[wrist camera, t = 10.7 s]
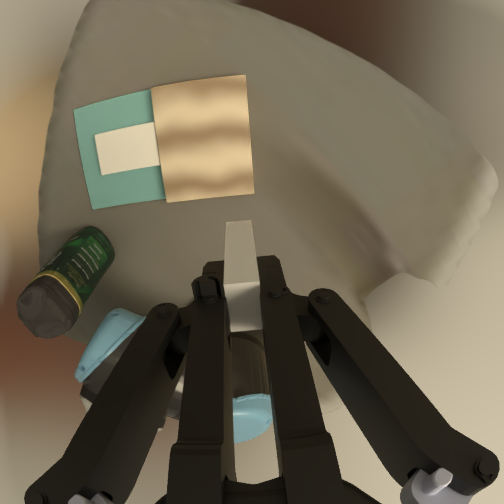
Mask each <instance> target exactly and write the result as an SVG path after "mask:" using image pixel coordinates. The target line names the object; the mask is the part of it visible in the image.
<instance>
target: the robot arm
mask: <svg viewBox="0 0 504 504" xmlns="http://www.w3.org/2000/svg"><path fill="white" fill-rule="evenodd" d="M191 285H192V290H193V294H194V299H195V301H194V303H193V304H191V305H189V306H187V307H183V308H180V309H178V307H177V306H176V305H175V304H172V303H162V304H158V305H157V306H155V307H153V308H152V310H151V311H150V312H149V314H148V315H147V317H146V316H140V315H138V314H135V313H133V312H131V311H128V310H126V309H123V308H116V309H113V310H111V311H110V312H109V313H108V314H107V315H106V316H105V318H104V319H103V321H102V322H101V324H100V325H99V327H98V328H97V330H96V332H95V333H94V335H93V337H92V338H91V340H90V342H89V344H88V345H87V347H86V349H85V351H84V353H83V355H82V357H81V360H80V362H79V365H78V367H77V369H76V371H75V377H76V379H77V380H78V382H80V383H82V382H83V386H82V389H81V392H80V395H79V396H80V398H81V400H82V402H83V405H84V407H85V409H86V415H85V417H84V419H83V421H82V422H81V424H80V426H79V427H78V429H77V431H76V433H75V435H74V436H73V438H72V440H71V442H70V444H69V446H68V447H67V449H66V451H65V453H64V455H63V457H62V458H61V459H60V460H59V461H57V462H56V463H55V464H54V465H53V466H52V467H51V468H50V469H49V470H48V471H46V472H45V473H44V474H43V475H42V476H41V477H40V478H39V479H38V480H37V481H35V482H34V483H33V484H32V485H31V486H30V487H29V488H28V489H27V491H26V493H25V497H24V500H25V504H129V501H130V497H131V493H132V490H133V488H134V486H135V483H136V481H137V478H138V476H139V474H140V471H141V469H142V466H143V464H144V462H145V459H146V457H147V454H148V452H149V450H150V447H151V445H152V443H153V440H154V438H155V435H156V433H157V432H159V431H161V430H162V429H163V427H164V424H165V421H166V418H167V417H171V418H174V419H177V420H179V431H178V439H177V442H176V443H175V444H173V446H172V447H171V452H170V460H169V471H168V484H167V494H166V495H164V496H163V497H162V498H161V499H159V500H158V501H157V502H156V503H155V504H381V503H380V502H378V501H377V500H375V499H374V498H372V497H371V496H369V495H368V494H366V493H365V492H363V491H362V490H360V489H359V488H357V487H356V486H354V485H353V484H351V483H349V482H347V481H345V480H342V478H341V474H340V469H339V465H338V461H337V456H336V452H335V448H334V443H333V440H332V437H331V435H330V433H328V432H327V431H326V429H325V426H324V421H323V417H322V413H321V408H320V404H319V400H318V396H317V392H316V388H315V384H314V380H313V376H312V372H311V368H310V364H309V360H308V356H307V352H306V348H305V344H304V341H306V344H307V346H308V347H309V349H310V351H311V352H312V354H313V355H314V357H315V359H316V360H317V362H318V363H319V365H320V366H321V368H322V370H323V371H324V373H325V374H326V376H327V377H328V379H329V381H330V382H331V384H332V385H333V387H334V388H335V390H336V392H337V393H338V395H339V396H340V398H341V399H342V401H343V403H344V404H345V406H346V407H347V409H348V411H349V412H350V414H351V415H352V417H353V418H354V420H355V421H356V423H357V425H358V426H359V428H360V429H361V431H362V432H363V434H364V436H365V437H366V438H367V440H368V442H369V443H370V445H371V446H372V448H373V450H374V451H375V453H376V454H377V456H378V458H379V459H380V461H381V462H382V464H383V465H384V467H385V468H386V470H387V471H388V472H389V474H390V475H391V476H392V477H393V478H394V480H395V481H396V482H397V483H398V484H399V485H401V486H402V487H403V488H402V490H401V493H400V500H401V503H402V504H468V503H469V501H470V500H471V498H472V497H473V495H475V494H476V493H477V492H479V491H480V490H482V489H484V488H486V487H487V486H489V485H490V484H492V483H493V482H494V480H495V479H496V478H497V476H498V472H499V461H498V458H497V456H496V455H495V454H494V453H493V452H491V451H490V450H488V449H486V448H485V447H483V446H481V445H479V444H478V443H476V442H475V441H473V440H471V439H470V438H468V437H466V436H465V435H463V434H461V433H460V432H458V431H457V430H454V429H453V428H452V427H450V425H449V424H448V423H447V422H446V420H445V419H444V418H443V417H442V415H441V414H440V413H439V412H438V410H437V409H436V408H435V407H434V405H433V404H432V403H431V402H430V401H429V399H428V398H427V397H426V396H425V394H424V393H423V392H422V391H421V390H420V389H419V387H418V386H417V385H416V384H415V382H414V381H413V380H412V379H411V378H410V377H409V375H408V374H407V373H406V372H405V371H404V369H403V368H402V367H401V366H400V365H399V364H398V362H397V361H396V360H395V359H394V358H393V356H392V355H391V354H390V353H389V352H388V351H387V350H386V348H385V347H384V346H383V345H382V344H381V343H380V341H379V340H378V339H377V338H376V337H375V336H374V334H373V333H372V332H371V331H370V330H369V329H368V328H367V327H366V325H365V324H364V323H363V322H362V321H361V320H360V319H359V317H358V316H357V315H356V314H355V313H354V312H353V311H352V310H351V309H350V307H349V306H348V305H347V304H346V303H345V302H344V301H343V300H342V298H341V297H340V296H339V295H338V294H337V293H336V292H334V291H333V290H330V289H325V288H320V289H315V290H313V291H312V292H311V293H310V294H309V296H308V297H307V296H299V295H296V294H293V293H292V292H291V291H290V290H289V288H288V287H287V286H286V282H285V279H284V275H283V271H282V267H281V264H280V260H279V259H278V258H277V257H276V256H275V255H271V256H260V257H256V252H255V245H254V238H253V231H252V224H251V220H245V221H234V222H226V238H225V259H224V260H223V261H212V262H207V264H206V265H205V266H204V267H203V273H202V276H200V277H198V278H196V279H195V280H194V281H193V282H192V284H191ZM272 419H273V424H274V433H275V441H276V450H277V458H278V467H279V477H278V478H275V479H272V480H269V481H265V482H262V483H259V484H246V483H241V482H237V478H236V472H235V456H234V443H239V442H244V441H247V440H250V439H253V438H255V437H257V436H259V435H261V434H262V433H263V432H265V431H266V430H267V429H268V428H269V426H270V425H271V423H272Z"/></svg>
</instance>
